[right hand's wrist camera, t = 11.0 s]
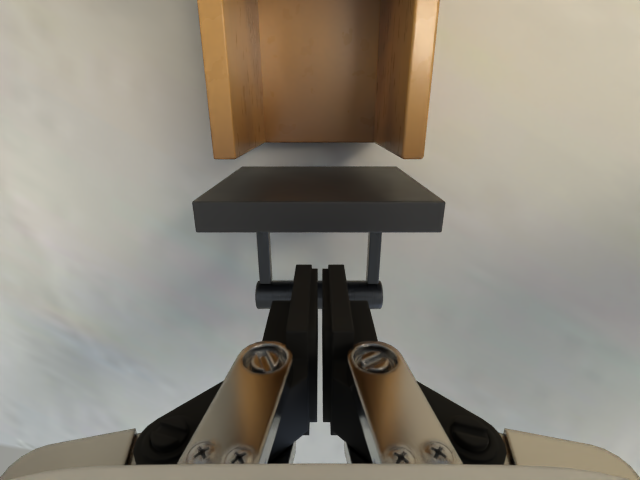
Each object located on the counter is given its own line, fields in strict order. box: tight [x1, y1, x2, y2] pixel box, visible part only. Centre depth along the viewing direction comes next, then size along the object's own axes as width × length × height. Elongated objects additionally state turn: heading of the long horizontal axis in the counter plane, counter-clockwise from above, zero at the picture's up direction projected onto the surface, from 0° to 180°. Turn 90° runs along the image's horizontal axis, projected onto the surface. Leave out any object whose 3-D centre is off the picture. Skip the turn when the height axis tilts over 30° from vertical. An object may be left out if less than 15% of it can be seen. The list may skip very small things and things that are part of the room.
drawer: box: [192, 0, 445, 309], centre depth 15 cm, size 25×9×9 cm, turn 0°
